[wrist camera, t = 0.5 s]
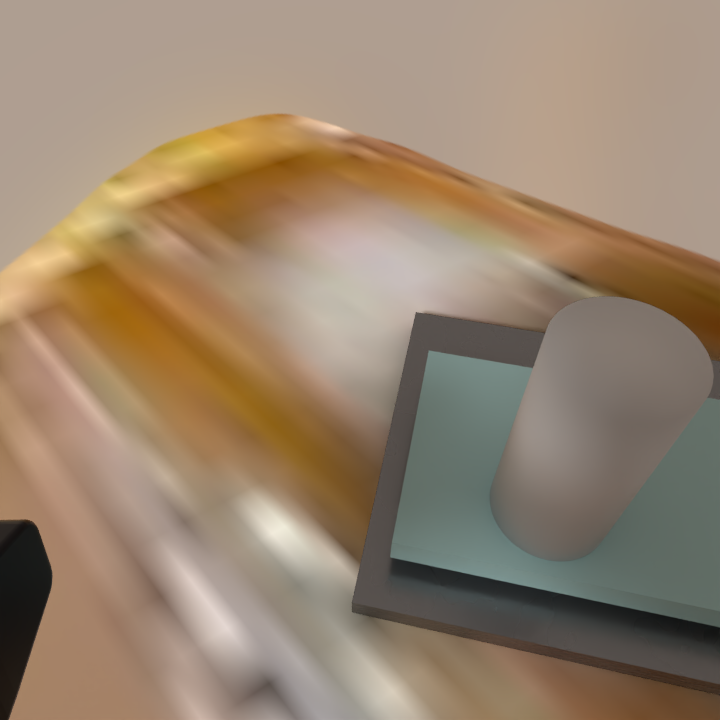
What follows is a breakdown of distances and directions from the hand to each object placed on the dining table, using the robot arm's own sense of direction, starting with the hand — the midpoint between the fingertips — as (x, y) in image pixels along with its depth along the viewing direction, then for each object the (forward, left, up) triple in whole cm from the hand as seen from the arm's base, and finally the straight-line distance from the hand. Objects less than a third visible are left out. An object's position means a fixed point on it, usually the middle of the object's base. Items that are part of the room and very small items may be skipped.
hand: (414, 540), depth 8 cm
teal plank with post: (+5, -11, -15) cm, 20 cm away
